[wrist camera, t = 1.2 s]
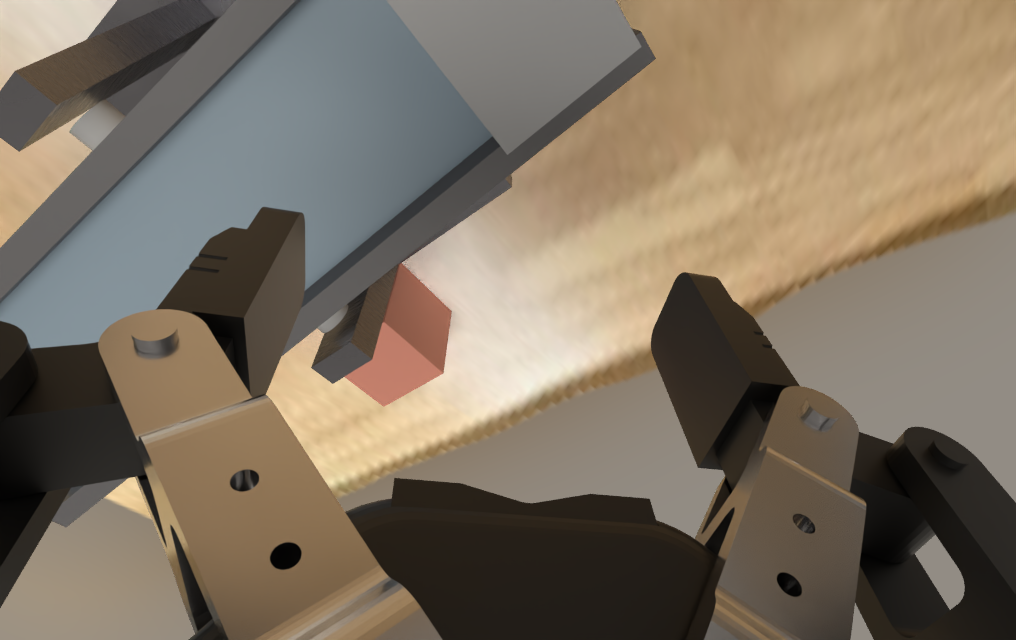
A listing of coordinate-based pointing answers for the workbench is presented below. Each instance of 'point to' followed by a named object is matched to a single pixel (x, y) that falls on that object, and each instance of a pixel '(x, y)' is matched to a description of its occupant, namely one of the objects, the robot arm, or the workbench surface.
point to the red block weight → (406, 342)
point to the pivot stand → (126, 81)
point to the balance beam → (307, 151)
